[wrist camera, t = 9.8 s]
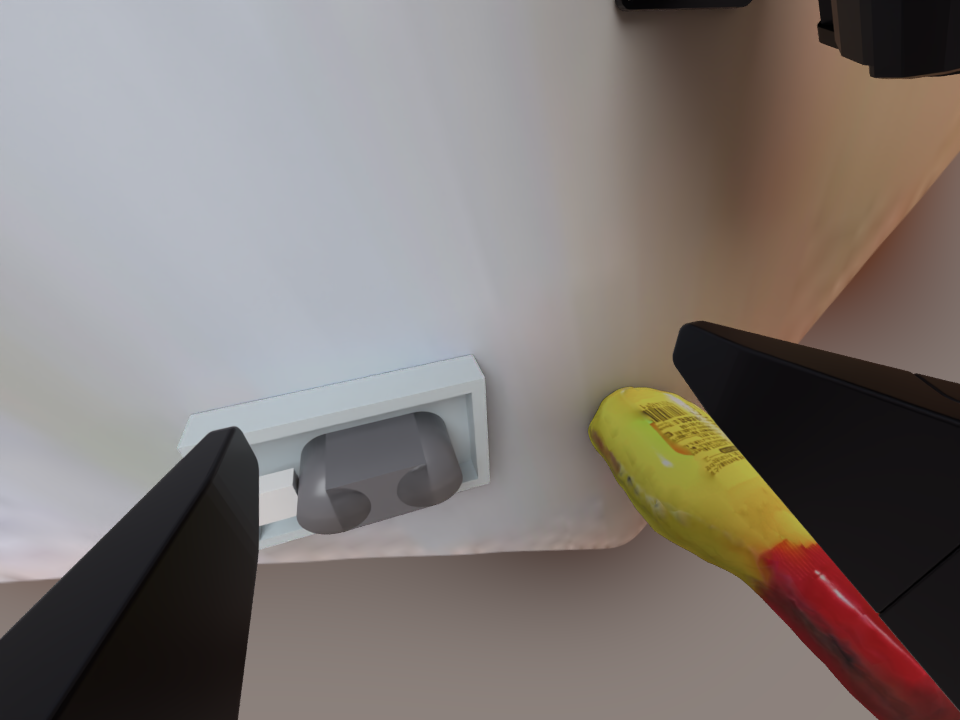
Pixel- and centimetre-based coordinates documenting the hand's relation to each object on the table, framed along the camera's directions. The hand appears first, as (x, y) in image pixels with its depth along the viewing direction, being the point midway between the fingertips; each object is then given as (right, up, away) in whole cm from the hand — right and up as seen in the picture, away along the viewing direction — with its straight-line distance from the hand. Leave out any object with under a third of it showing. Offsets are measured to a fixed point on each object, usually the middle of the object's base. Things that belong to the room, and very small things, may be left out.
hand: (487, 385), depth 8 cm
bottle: (+12, -3, +24) cm, 27 cm away
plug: (-8, -5, +16) cm, 18 cm away
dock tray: (-8, -4, +17) cm, 19 cm away
